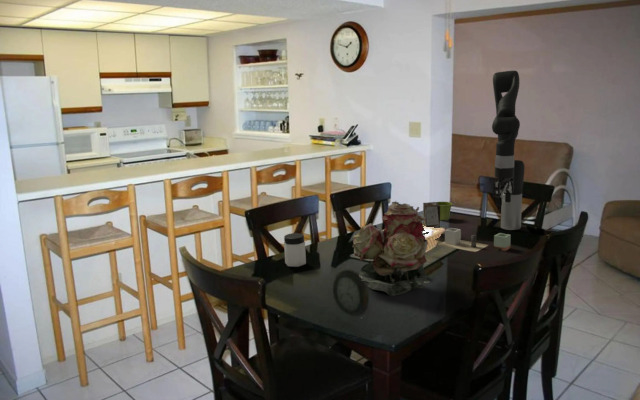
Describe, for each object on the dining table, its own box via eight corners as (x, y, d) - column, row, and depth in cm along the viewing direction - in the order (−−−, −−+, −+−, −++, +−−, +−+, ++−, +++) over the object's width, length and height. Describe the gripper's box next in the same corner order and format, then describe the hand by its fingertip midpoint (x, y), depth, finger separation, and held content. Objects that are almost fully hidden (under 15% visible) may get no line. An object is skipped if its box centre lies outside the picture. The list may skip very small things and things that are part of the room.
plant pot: (441, 216, 282) (441, 200, 280) (455, 219, 275) (456, 203, 273) (430, 219, 276) (430, 203, 275) (444, 222, 269) (445, 206, 268)
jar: (283, 261, 220) (281, 234, 217) (302, 259, 222) (300, 231, 220) (288, 268, 212) (286, 239, 209) (307, 265, 214) (306, 237, 211)
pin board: (451, 240, 238) (451, 227, 237) (488, 247, 226) (489, 233, 225) (437, 247, 230) (437, 233, 229) (475, 254, 218) (475, 240, 216)
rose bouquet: (345, 277, 199) (342, 200, 192) (412, 265, 209) (412, 191, 202) (376, 302, 175) (374, 215, 169) (450, 287, 185) (450, 204, 179)
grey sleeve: (450, 240, 235) (450, 227, 233) (460, 242, 231) (460, 229, 230) (444, 243, 231) (444, 230, 230) (455, 245, 228) (455, 231, 226)
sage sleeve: (499, 246, 228) (499, 232, 226) (510, 248, 224) (510, 234, 223) (493, 249, 224) (494, 235, 223) (505, 251, 221) (505, 237, 219)
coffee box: (440, 240, 240) (440, 205, 237) (426, 240, 240) (426, 206, 237) (436, 234, 249) (436, 201, 245) (422, 235, 249) (422, 202, 246)
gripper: (503, 163, 224) (502, 200, 228) (488, 167, 214) (487, 206, 218) (520, 164, 219) (519, 202, 222) (505, 169, 209) (504, 208, 212)
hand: (503, 204), depth 220 cm, fingers open, 8 cm apart
